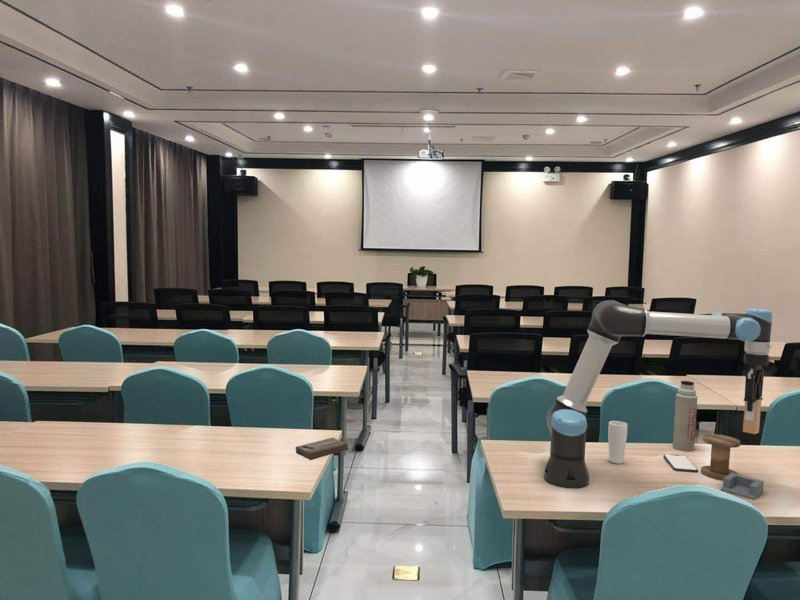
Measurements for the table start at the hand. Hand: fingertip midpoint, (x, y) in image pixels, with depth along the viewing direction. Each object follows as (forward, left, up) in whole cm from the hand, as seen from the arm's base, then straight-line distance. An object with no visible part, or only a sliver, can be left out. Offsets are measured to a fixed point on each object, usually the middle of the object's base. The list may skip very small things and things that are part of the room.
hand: (751, 418), depth 211 cm
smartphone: (-1, +23, -23) cm, 32 cm away
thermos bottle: (+20, +30, -23) cm, 43 cm away
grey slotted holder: (-12, -2, -23) cm, 26 cm away
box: (-99, +118, -23) cm, 156 cm away
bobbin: (-1, +9, -23) cm, 24 cm away
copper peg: (0, 0, -5) cm, 5 cm away
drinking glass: (-18, +40, -23) cm, 49 cm away
